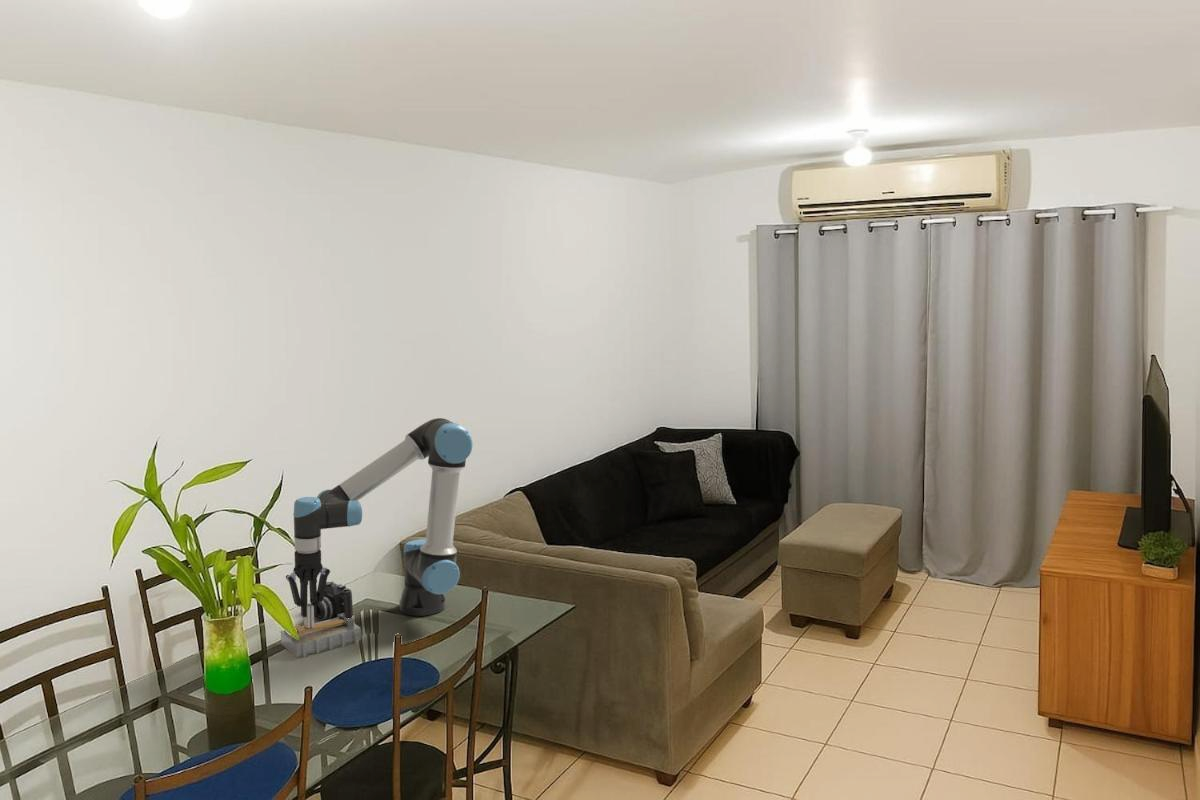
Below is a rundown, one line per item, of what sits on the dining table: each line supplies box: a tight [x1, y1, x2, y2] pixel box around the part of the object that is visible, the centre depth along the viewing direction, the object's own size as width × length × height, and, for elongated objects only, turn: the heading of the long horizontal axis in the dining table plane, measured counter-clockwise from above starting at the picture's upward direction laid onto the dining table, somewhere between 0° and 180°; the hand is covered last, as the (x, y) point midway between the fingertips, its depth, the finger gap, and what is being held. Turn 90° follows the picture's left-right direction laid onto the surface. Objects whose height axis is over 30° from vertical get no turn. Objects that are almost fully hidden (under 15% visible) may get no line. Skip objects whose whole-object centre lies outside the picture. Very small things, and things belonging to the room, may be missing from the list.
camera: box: [314, 580, 354, 621], centre depth 301 cm, size 14×11×10 cm
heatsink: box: [280, 613, 362, 658], centre depth 281 cm, size 20×14×6 cm
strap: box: [294, 617, 348, 635], centre depth 281 cm, size 17×5×1 cm, turn 130°
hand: (309, 626), depth 278 cm, fingers closed, pressing on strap
